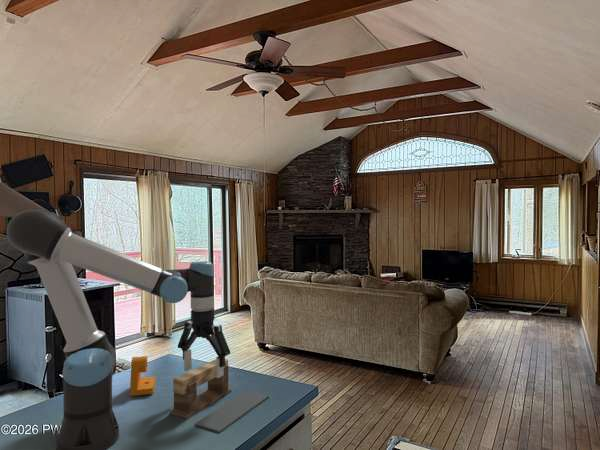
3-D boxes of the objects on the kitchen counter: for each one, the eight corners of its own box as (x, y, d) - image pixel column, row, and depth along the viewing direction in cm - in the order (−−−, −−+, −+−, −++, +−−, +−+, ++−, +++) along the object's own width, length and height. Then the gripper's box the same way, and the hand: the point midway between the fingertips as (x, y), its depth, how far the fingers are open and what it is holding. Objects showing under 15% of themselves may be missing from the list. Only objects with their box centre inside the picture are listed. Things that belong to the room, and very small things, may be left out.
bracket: (186, 418, 123) (186, 387, 123) (169, 413, 126) (169, 382, 126) (231, 391, 142) (231, 364, 142) (215, 387, 145) (215, 361, 145)
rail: (183, 394, 123) (183, 381, 123) (173, 391, 125) (173, 379, 125) (228, 370, 143) (228, 359, 143) (219, 368, 145) (219, 357, 145)
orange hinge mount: (152, 396, 139) (152, 361, 138) (130, 398, 137) (129, 362, 137) (155, 383, 149) (155, 351, 149) (134, 385, 147) (134, 352, 147)
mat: (219, 433, 114) (219, 430, 114) (195, 425, 119) (195, 423, 119) (268, 397, 138) (268, 395, 138) (246, 392, 142) (246, 390, 142)
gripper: (240, 309, 131) (241, 375, 132) (182, 303, 143) (183, 363, 143) (225, 315, 125) (227, 383, 125) (166, 307, 136) (167, 370, 137)
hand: (203, 373), depth 134 cm, fingers open, 13 cm apart
